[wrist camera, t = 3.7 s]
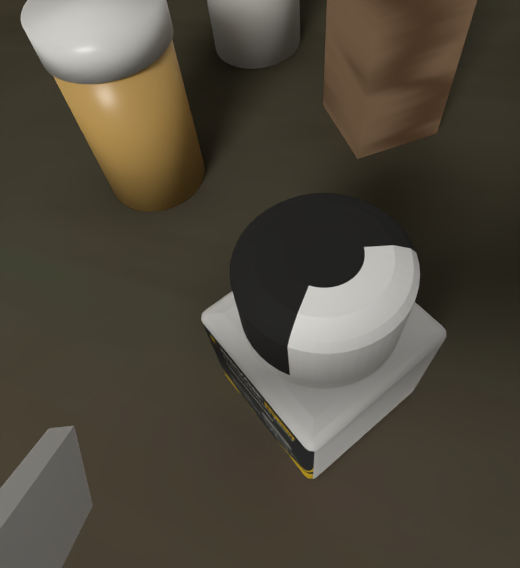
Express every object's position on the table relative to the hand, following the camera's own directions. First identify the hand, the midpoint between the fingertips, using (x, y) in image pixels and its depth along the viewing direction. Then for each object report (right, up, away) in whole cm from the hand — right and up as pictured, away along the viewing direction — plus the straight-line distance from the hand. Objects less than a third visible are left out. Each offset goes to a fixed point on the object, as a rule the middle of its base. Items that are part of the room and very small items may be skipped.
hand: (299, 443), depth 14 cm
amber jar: (-8, +12, +19) cm, 25 cm away
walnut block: (+7, +17, +20) cm, 27 cm away
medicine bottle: (+2, 0, +11) cm, 11 cm away
